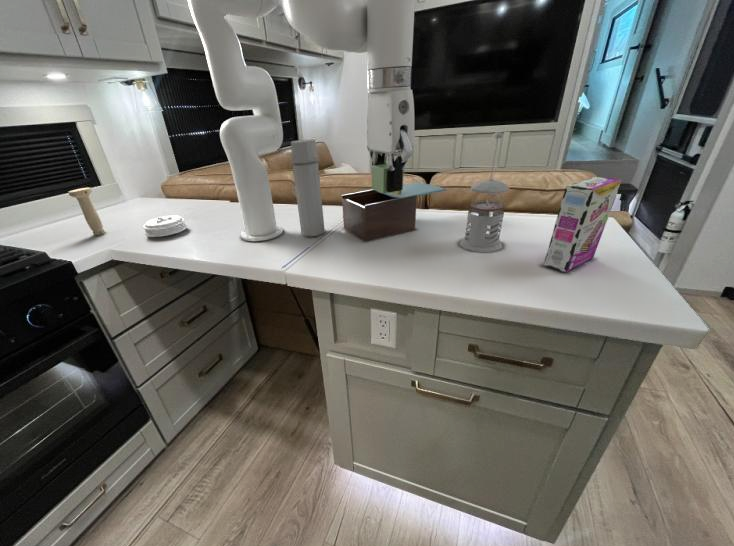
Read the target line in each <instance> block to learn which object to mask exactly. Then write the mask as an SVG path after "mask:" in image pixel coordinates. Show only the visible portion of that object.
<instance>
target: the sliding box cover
mask: <svg viewBox="0 0 734 546" xmlns="http://www.w3.org/2000/svg"><path fill="white" fill-rule="evenodd" d="M446 191H447V188H446V187H442V186H436V185H432V184H429V183H425V182H420V181H417V182H412V183H405V184H403V190H400V191H395V192H389V193H382V194H385V195H388V196H391V197H394V198H397V199H398V198H403V197H408V196H413V195H417V198H418V197H422V196H426V195H431V194H432V195H433V194H437V193H442V192H446ZM377 192H378V191H377ZM379 193H381V192H379Z"/></svg>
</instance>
